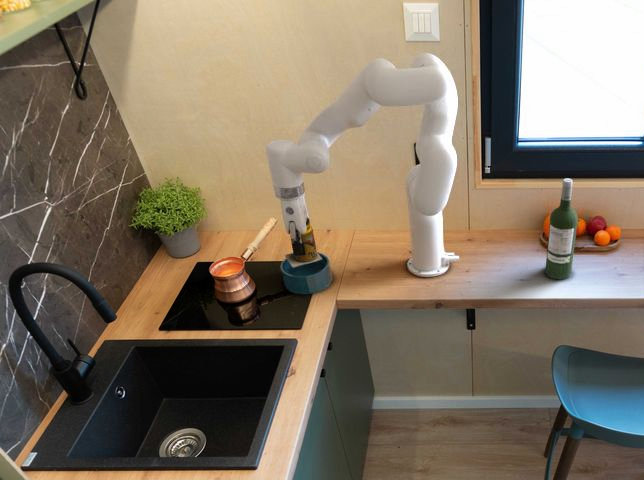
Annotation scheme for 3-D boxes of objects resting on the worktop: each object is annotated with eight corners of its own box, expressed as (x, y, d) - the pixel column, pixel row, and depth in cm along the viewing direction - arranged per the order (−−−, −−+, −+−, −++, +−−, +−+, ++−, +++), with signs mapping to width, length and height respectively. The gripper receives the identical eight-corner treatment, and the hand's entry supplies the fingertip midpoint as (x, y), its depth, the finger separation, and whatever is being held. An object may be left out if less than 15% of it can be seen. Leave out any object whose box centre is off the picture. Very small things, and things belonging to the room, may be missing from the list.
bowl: (334, 267, 180) (331, 250, 176) (330, 293, 170) (326, 275, 166) (288, 269, 179) (284, 252, 175) (281, 295, 168) (277, 277, 165)
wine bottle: (545, 279, 178) (554, 186, 159) (544, 265, 185) (552, 173, 166) (571, 280, 178) (583, 187, 159) (570, 266, 184) (581, 174, 166)
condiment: (322, 259, 168) (315, 221, 161) (293, 268, 165) (284, 229, 157) (313, 248, 173) (306, 210, 166) (284, 256, 169) (275, 218, 162)
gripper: (300, 203, 150) (312, 264, 161) (308, 174, 163) (318, 232, 174) (269, 204, 149) (283, 265, 160) (279, 175, 162) (292, 233, 173)
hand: (301, 247), depth 167 cm, fingers closed on condiment, 6 cm apart
